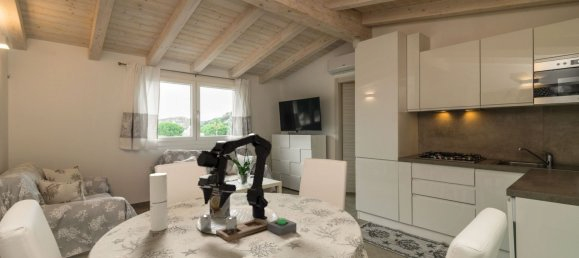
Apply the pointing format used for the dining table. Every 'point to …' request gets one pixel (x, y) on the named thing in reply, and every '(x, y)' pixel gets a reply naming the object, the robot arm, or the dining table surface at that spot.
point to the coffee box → (214, 204)
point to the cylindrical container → (158, 201)
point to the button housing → (281, 227)
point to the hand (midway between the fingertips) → (213, 205)
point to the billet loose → (205, 222)
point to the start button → (281, 221)
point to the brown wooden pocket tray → (243, 229)
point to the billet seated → (231, 225)
